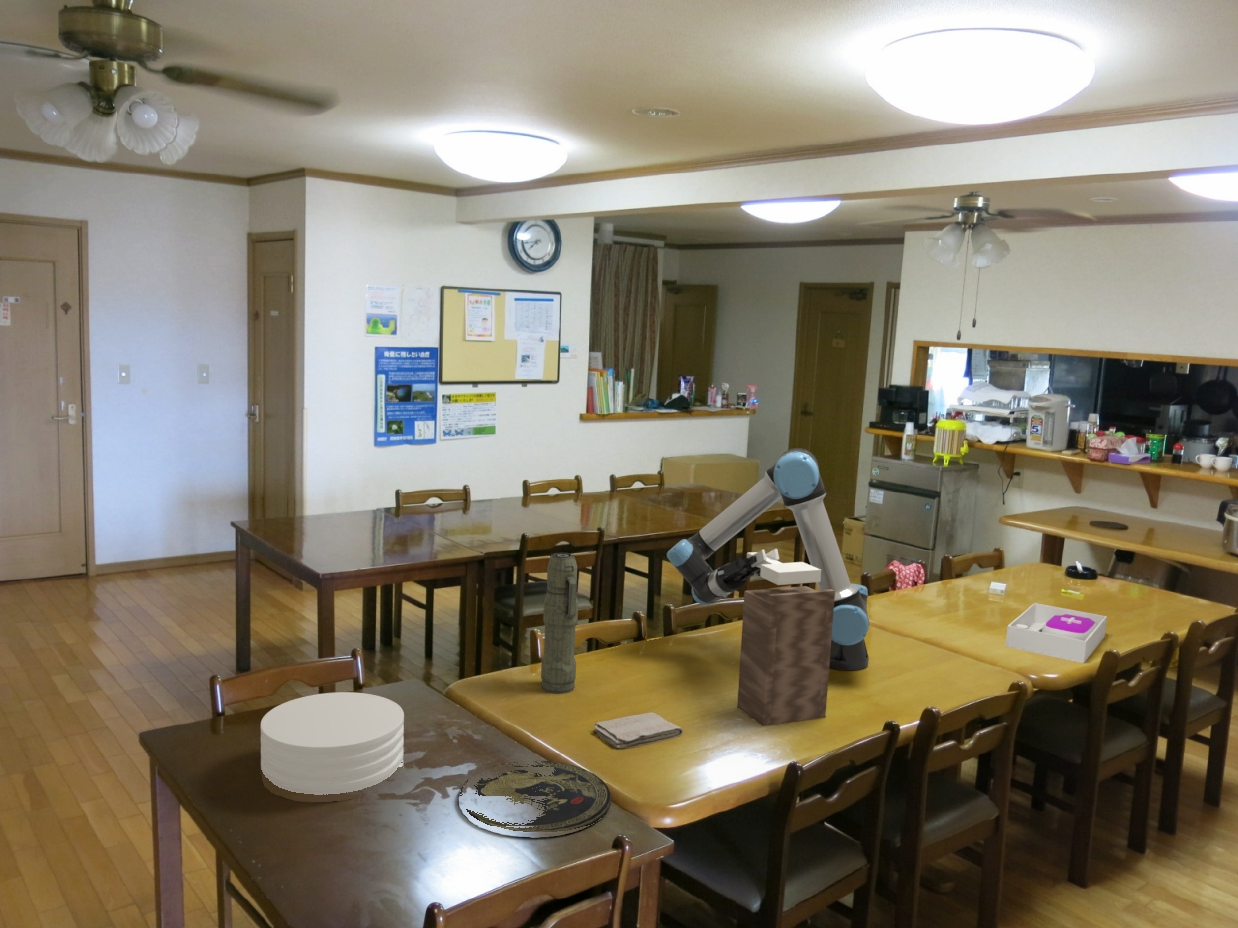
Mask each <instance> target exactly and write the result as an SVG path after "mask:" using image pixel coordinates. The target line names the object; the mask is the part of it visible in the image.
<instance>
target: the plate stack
mask: <svg viewBox="0 0 1238 928" xmlns="http://www.w3.org/2000/svg"><path fill="white" fill-rule="evenodd" d="M404 723H405V712H404V710H403V708H402V707H401V706H400V705H399V704H398V703H396V702H395V701H394V700H392V699H388V698H387V697H383V696H380V695H375V694H370V693H362V692H353V691H351V692H349V691H348V692H346V691H345V692H343V691H342V692H340V691H338V692H326V693H317V694H312V695H307V696H302V697H297V698H295V699H291V700H288V701H286V702H283V703H281V704H279V705H277V706H275V707H273V708H272V709H271V710H269V711H267V713H266V714H265V715H264V716H263V717H262V719H261V721H260V745H261V746H260V769H261V770H262V772H263V774H264V775H265V777H266V778H268V779H269V781H271V782H272V783H273V784H274V785H276V786H278V787H279V788H282V789H285V790H288V791H291V792H296V793H304V794H314V795H323V794H324V795H326V794H327V795H328V794H340V793H346V792H347V793H348V792H353V791H358V790H362V789H364V788H367V787H371V786H373V785H376V784H378V783H380V782H382V781H383V780H385V779H387V778H388V777H390V776H391V775H392V774H393V773H394V772H395V771H396V770H397V768H398V767H402V766H403V767H404V743H405V742H404V741H405V740H404V739H405V738H404V734H405V728H404V727H405V726H404ZM401 762H403V763H401ZM261 770H260V771H261Z"/></svg>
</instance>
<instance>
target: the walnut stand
mask: <svg viewBox="0 0 1238 928" xmlns="http://www.w3.org/2000/svg"><path fill="white" fill-rule="evenodd" d="M834 599H835V591H834V590H832V589H828V590H819V589H817V590H816V589H814V588H811V587H809V586H806V585H804V586H802V585H801V586H790V587H789V586H788V587H778V588H777V587H776V588H765V589H751V590H749V589H748V590H744V593H743V611H742V624H741V625H742V627H741V628H742V629H741V643H740V655H739V657H740V658H739V673H738V689H737V702H736V703H737V704H736V708H737V709H738V710H740V711H741V712H742V713H744V714H745V715H747V716H748V717H750V718H751V719H752V720H754V722H756V723H757V724H759V725H760V726H762V727H766V726H773V725H781V724H787V723H794V722H795V723H796V722H802V721H807V720H815V719H817V720H818V719H822V718H826V713H827V702H828V701H827V700H828V689H829V677H830V675H829V674H830V668H829V664H830V651H831V638H832V625H833V612H834Z"/></svg>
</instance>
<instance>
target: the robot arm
mask: <svg viewBox="0 0 1238 928" xmlns="http://www.w3.org/2000/svg"><path fill="white" fill-rule="evenodd" d="M826 495H827V491H826V489H825V485H824V483H823V479H822V477H821V474H820V466H819V462H818V459H817V458H816V456H815V455H814V454H813V453H812V452H811V451H809V450H807V449H805V448H800V447H794V448H790V449H788V450H786V451H785V452H783V453H782V454H781V455H780V457H779V458H778V459H777V461H775V463H773V464H772V466H771V467H769V468H768V469H767V470H766V471H765V472H764V477H762V478H761V479H760V480H759V481H758V482H756V483H755V484H754V485H753V486H752V487H750V489H748V490H747V491H746V492H745V493H743V494H742V495H741V496H740V497H739V498H738V499H736V500H735V501H733V503H731V504H730V505H729V506H727V508H725V509H724V510H723V511H721V512H720V513H719V514H718V515H717V516H715V517H714V518H713V519H712V520H710V521H709V522H708V523H707V524H706V525H705V526H703V527H702V528H701V529H700V530H699V531H698V532H696V533H695V534H693V535H692V536H691V537H689V538H688V539H684V538H682V539H681V540H679V541H678V542H677V543H676V544H675V545H674V546H673V547H671V549H669V550H668V551H667V553H666V557H667V559H668V560H669V562H670V563H671V564H672V566H673V567H675V569H676V570H677V571H678V573H680V575H681V576H682V577H684V579H685V580H686V581H687V583H689V586H691V594H692V595H691V596H692V598H693V600H694V601H695V602H696V603H697V604H699V605H703V606H709V605H712V604H715V603H717V602H718V601H719V600H721V599H723V598H724V599H725V598H728V596H729V595H730V594H732V593H733V592H736V591H738V590H740V589H742V587H744V585H745V583H746V581H747V580H748V579H749V578H750V577H753V576H755V575H756V576H758V577H760V573H761V568H758V567H756V566H757V565H759V564H760V563H762V562H764V561H766V560H767V559H766V556H767V557H770V558H772V559H774V560H777V561H779V560H780V555H779V551H778V548H774V549H772V550H770V551H769V552H767V553H766V550H765V549H761V550H759V551H756V552H757V553H756V554H754V555H752V556H750V557H749V558H747V557H745V558H743V559H742V558H738V559H735V560H733V561H732V562H727V563H725V564H724V565H722V566H721V567H718V568H717V569H715V570H713V569H712V567H711V566H710V564H708V563H707V561H706V560H707V559H708V558H709V557H710V556H712V555H713V554H714V553H715V552H716V551H717V550H719V549H720V548H721V547H722V546H724V545H725V544H726V543H727V542H728V541H730V540H732V538H734V536H736V535H737V534H738V533H740V532H741V531H742V530H743V529H744V528H746V527H747V526H748V525H749V524H751V523H752V522H753V521H754V520H756V519H757V518H758V517H760V516H761V515H762V514H764V513H765V512H766V511H767V510H768V509H769V508H771V507H772V506H773V505H774V504H776V503H777V502H778V501H779V500H780V499H782V501H783V504H784V507H785V508H786V509H789V510H790V511H791V512H792V513H793V517H794V519H795V523H796V525H797V529H798V531H799V535H800V537H801V540H802V544H803V547H804V549H805V551H806V554H807V558H808V562H809V563H810V564H809V565H811V566H813V567H816V568H818V569H821V580H820V582H816V584H817V585H816V586H817V587H818V590H828V589H832V590H834V591H835V599H834V612H833V625H832V638H831V651H830V664H829V669H830V668H831V669H835V670H840V671H858V670H859V671H860V670H863V669H866V668H867V667H868V666H869V659H870V658H869V654H868V650H867V645H866V644H867V643H866V642H865V637H866V636H867V634H868V632H869V629H870V620H869V619H870V618H869V614H868V610H867V609H868V598H869V593H868V591H869V590H868V588H867V587H866V586H865V585H862V584H857V583H851V581H850V577H849V575H848V571H847V568H846V566H845V562H844V559H843V556H842V554H841V550H840V547H839V545H838V542H837V539H836V536H835V533H834V530H833V527H832V524H831V522H830V521H831V520H830V518H829V516H828V512H827V510H826V506H825V503H824V498H825V497H826Z"/></svg>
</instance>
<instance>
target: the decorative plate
mask: <svg viewBox="0 0 1238 928" xmlns="http://www.w3.org/2000/svg"><path fill="white" fill-rule="evenodd" d="M520 761H521V762H526V761H527V760H520ZM537 761H538V760H536V761H533V762H535V763H537V764H538V765H536V764H535V765H536V766H534V765H531V766H533V767H538V766H539V767H543V766H546V765H547V766H546V767H549V766H550V767H554V769H555V770H556V771H555V770H554V773H553V772H552V774H553V775H554V776H553V775H552V776H553V777H554V778H553V777H552V776H551V775H549V776H550V777H549V776H548V777H549V778H548V777H547V776H545V775H544V776H545V777H546V778H545V777H542V775H541V774H539V773H538V774H539V775H540V776H538V775H537V773H535V774H536V775H535V774H532V773H530V772H528V771H525V770H517V769H515V771H514V772H512V771H508V772H507V771H506V773H503V774H502V775H503V776H502V775H501V776H502V777H500V776H499V777H500V778H501V779H499V778H497V777H496V778H494V779H491V778H488V779H490V780H488V779H486V780H484V779H483V778H481V780H479V782H477V783H478V785H477V784H476V785H477V786H478V787H477V786H475V785H474V786H475V787H476V789H477V790H478V795H479V796H480V795H482V796H505V797H506V796H509V797H511V796H512V798H507V799H506V800H508V799H510V800H512V801H510V802H513V801H514V805H515V804H518V803H515V802H518V801H520V802H519V803H521V804H524V803H527V802H530V801H528V800H531V805H532V803H533V802H535V801H533V800H535V799H530V798H531V797H530V798H525V797H528V796H546V797H548V796H551V797H549V798H545V799H547V800H544V799H542V800H544V801H540V800H537V801H540V802H543V803H545V804H543V803H540V802H536V803H539V804H542V807H544V809H545V810H542V811H544V812H543V813H542V814H541V815H543V816H541V817H536V818H537V819H536V820H531V821H534V822H532V823H527V824H525V825H521V824H519V825H515V824H518V823H514V824H512V823H509V822H507V823H509V824H512V825H509V824H507V823H504V822H502V823H504V824H502V823H500V822H496V820H495V821H492V820H494V819H491V820H489V818H485V817H487V816H484V817H483V815H484V814H482V813H479V814H482V815H479V814H477V813H478V812H477V813H475V812H474V811H472V812H471V810H468V809H466V810H467V812H469V814H470V815H471V816H473V817H474V818H476V819H477V820H479V821H481V822H483V823H485V824H487V825H490V826H497V827H501V828H504V829H509V830H513V831H523V832H557V831H566V830H567V831H568V830H572V829H576V828H580V827H583V826H588V825H591V824H593V823H595V822H596V821H598V820H599V819H600V818H602V817H603V816H604V815H605V814H606V813H607V814H608V812H609V810H610V807H611V805H612V804H611V803H612V795H611V794H612V793H611V791H610V789H609V786H608V785H607V784H606V783H605V781H604V780H603V779H601V778H600V777H599V776H598V775H596V774H595V773H593V772H591V771H589V770H587V769H586V768H583V767H579V766H577V765H572V764H567V763H565V762H564V763H563V762H560V761H559V762H558V761H553V760H551V761H550V760H540V761H541V762H542V763H545V764H546V765H543V764H541V763H538V762H537ZM513 763H517V764H521V763H518V761H513ZM501 764H502V765H503V766H504V767H508V766H506V765H504V764H505V763H501ZM501 764H497V765H498V766H500V765H501ZM506 764H509V765H512V766H510V767H513V766H514V767H528V766H520V765H513V764H511V763H510V762H506ZM523 765H529V764H523ZM495 766H496V765H493V766H492V767H495ZM524 769H525V768H524ZM517 771H518V772H517ZM543 778H544V779H545V780H544V779H543ZM547 779H548V780H547ZM466 781H467V782H468V779H467V780H466ZM466 781H465V782H464V783H463V785H465V783H467V782H466ZM463 785H462V786H461V787H462V788H461V787H460V790H461V792H460V791H459V793H460V794H462V792H463V791H462V789H463V788H464V787H463ZM539 786H540V787H539ZM536 787H537V788H536ZM532 788H533V789H532ZM542 789H543V790H542ZM539 790H540V791H539ZM535 791H536V792H535ZM476 792H477V791H476ZM475 794H477V793H475ZM462 795H463V794H462ZM462 795H460V796H462ZM517 796H518V797H517ZM522 796H524V797H523V798H520V797H522ZM550 798H551V799H550ZM513 799H514V800H513ZM525 799H527V800H525ZM524 801H526V802H524ZM527 804H530V803H527ZM543 805H545V806H543ZM539 806H540V805H538V807H539ZM546 806H547V807H546ZM542 807H541V808H542ZM537 809H538V808H537ZM539 810H541V809H539ZM546 810H547V811H546ZM539 814H540V813H539ZM607 814H606V815H607ZM606 815H605V816H606ZM539 816H540V815H539ZM605 816H604V817H605ZM604 817H603V818H604ZM603 818H602V819H603ZM528 821H529V820H528ZM531 821H530V822H531ZM522 824H524V823H522ZM506 826H534V827H533V828H532V827H529V828H526V827H525V828H520V827H519V828H514V827H506ZM536 826H537V827H536Z"/></svg>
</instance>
